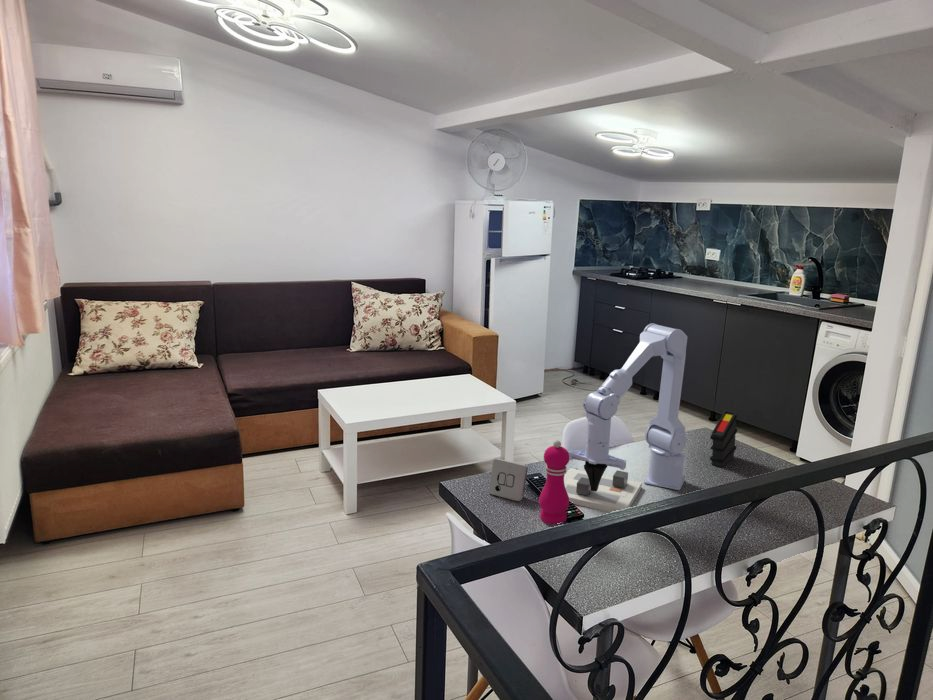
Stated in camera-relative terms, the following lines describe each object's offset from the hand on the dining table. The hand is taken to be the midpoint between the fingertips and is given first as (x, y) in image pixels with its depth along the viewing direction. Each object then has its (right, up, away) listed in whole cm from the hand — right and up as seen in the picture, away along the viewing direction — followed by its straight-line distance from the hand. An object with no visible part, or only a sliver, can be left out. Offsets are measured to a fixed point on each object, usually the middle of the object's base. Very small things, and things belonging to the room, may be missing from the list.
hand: (594, 489), depth 168 cm
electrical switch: (-22, -2, +3) cm, 22 cm away
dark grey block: (+8, 0, +6) cm, 10 cm away
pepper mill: (-12, -5, -9) cm, 16 cm away
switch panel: (+1, -2, +5) cm, 5 cm away
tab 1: (-2, -1, +1) cm, 3 cm away
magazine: (+43, +2, +27) cm, 51 cm away
